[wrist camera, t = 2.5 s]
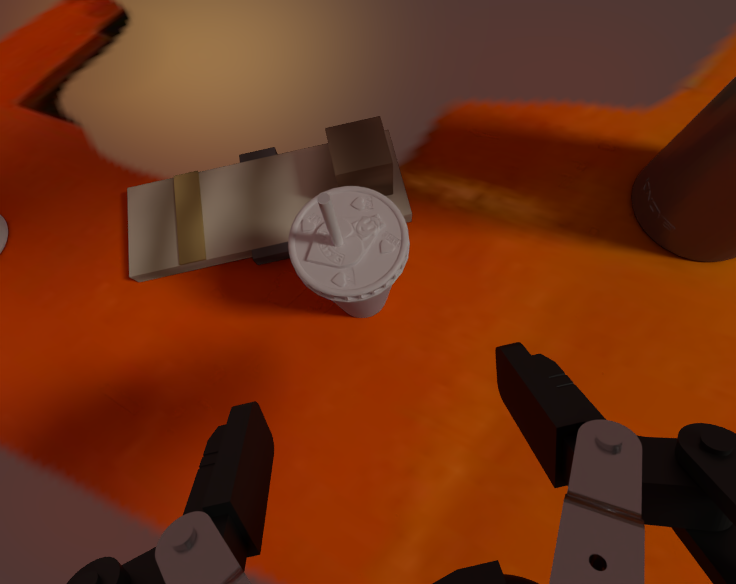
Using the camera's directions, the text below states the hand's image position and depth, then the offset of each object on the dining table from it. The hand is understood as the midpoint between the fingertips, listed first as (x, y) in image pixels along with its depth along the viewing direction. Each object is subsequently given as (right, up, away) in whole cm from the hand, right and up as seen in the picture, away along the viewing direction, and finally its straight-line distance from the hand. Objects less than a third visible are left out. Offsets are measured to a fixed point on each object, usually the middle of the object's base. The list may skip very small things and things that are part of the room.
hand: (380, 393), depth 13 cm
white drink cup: (-1, +3, +17) cm, 17 cm away
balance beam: (-9, +10, +19) cm, 23 cm away
